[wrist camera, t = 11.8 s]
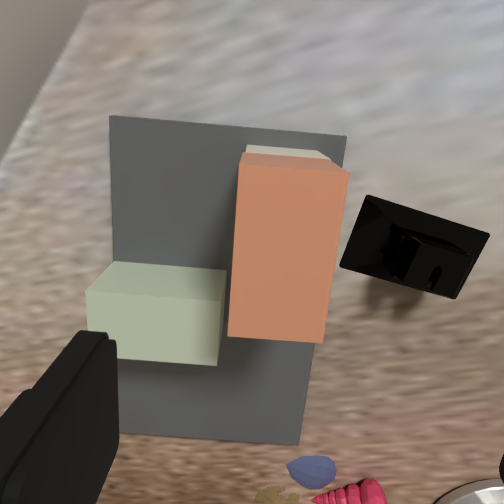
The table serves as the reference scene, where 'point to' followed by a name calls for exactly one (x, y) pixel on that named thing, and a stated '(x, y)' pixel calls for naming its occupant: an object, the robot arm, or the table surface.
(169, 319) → the sage brick
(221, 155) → the baseplate
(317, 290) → the terracotta brick
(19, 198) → the table surface
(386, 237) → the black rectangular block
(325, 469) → the toy pieces
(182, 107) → the table surface
